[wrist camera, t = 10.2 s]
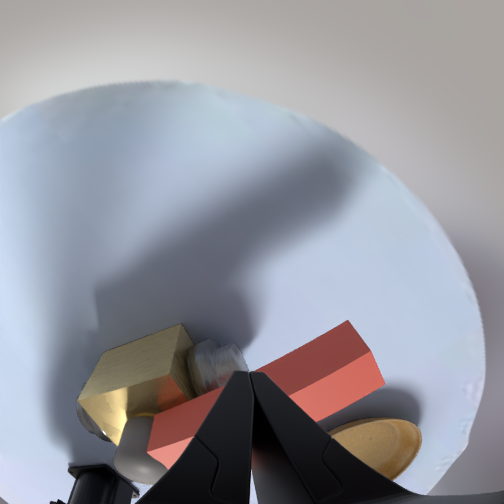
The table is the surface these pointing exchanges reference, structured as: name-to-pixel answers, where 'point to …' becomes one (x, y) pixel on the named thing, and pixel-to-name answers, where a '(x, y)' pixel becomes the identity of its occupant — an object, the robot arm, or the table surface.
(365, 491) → the robot arm
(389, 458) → the plant saucer
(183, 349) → the valve pipe
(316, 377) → the lever
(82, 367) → the table surface
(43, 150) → the table surface
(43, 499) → the table surface
